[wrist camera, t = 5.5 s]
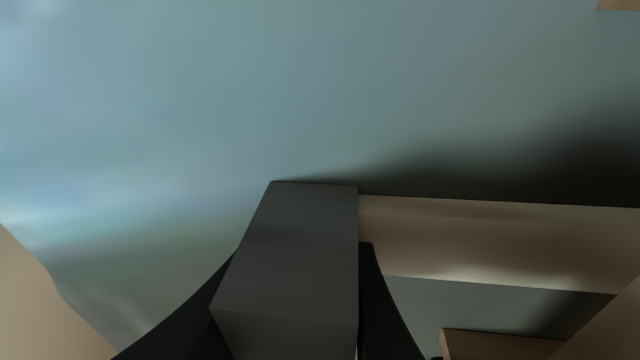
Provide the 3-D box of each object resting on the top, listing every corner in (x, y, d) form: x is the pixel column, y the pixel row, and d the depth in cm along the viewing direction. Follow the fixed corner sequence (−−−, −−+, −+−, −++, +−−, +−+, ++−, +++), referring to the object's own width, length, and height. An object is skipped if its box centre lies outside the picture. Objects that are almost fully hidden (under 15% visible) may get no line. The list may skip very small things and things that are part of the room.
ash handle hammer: (618, 279, 13) (782, 454, 8) (282, 253, 15) (244, 380, 10) (699, 201, 10) (1037, 396, 5) (270, 181, 12) (208, 307, 7)
